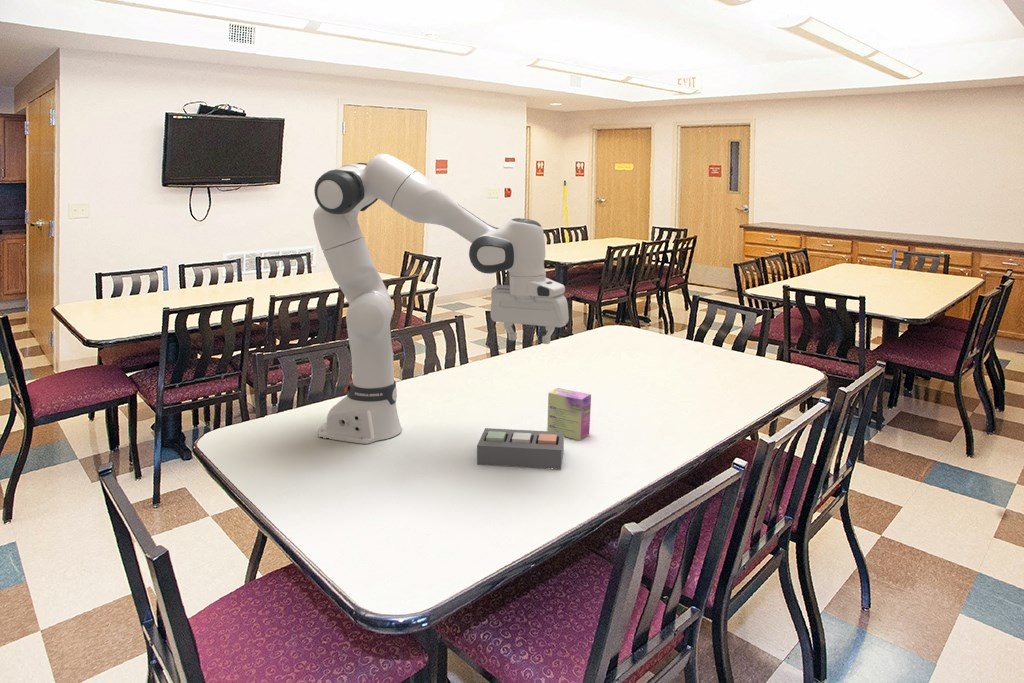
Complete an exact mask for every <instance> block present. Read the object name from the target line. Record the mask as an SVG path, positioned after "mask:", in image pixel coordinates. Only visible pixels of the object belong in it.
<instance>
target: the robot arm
mask: <svg viewBox="0 0 1024 683" xmlns="http://www.w3.org/2000/svg"><path fill="white" fill-rule="evenodd" d="M314 198H315V200H316V202H317V204H318V207H317V208H316V209H315V210H314V212H313V215H312V216H313V217H312V218H313V224H314V229H315V232H316V235H317V239H318V242H319V246H320V248H321V251H322V253H323V255H324V258H325V261H326V262H327V266H328V268H329V270H330V272H331V275H332V278H333V279H334V281H335V283H336V284H337V285H338V286H339V288H340V290H341V292H342V293H343V295H344V297H345V299H346V300H347V303H348V307H347V310H346V314H345V322H346V330H347V337H348V343H349V350H350V356H351V369H352V379H351V380H349V383H348V384H347V385H346V387H344V394H345V393H346V394H347V395H346V396H344V397H343V398H342V399H341V400H339V401H338V402H337V403H336V404H335V405H333V406H332V407H331V408H330V410H329V411H328V413H327V417H326V422H324V424H322V425H321V426H320V428H319V429H318V435H319V436H318V438H320V437H323V438H322V439H326V438H329V439H328V440H336V441H341V442H348V443H356V444H361V445H362V444H363V445H367V444H371V443H374V442H377V441H383V440H388V439H391V438H394V437H396V436H398V435H399V434H400V433H402V431H403V427H402V426H401V422H400V419H399V415H398V414H399V413H398V410H397V409H398V408H397V397H398V395H397V394H398V393H397V391H398V388H397V383H396V380H395V371H394V370H395V369H394V367H395V366H394V351H393V344H392V335H391V320H392V317H393V315H394V303H393V300H392V299H391V296H390V294H389V291H388V289H387V286H386V284H385V283H384V281H383V278H382V277H381V275H380V273H379V271H378V269H377V267H376V266H375V265H376V264H375V263H374V260H373V258H372V255H371V253H370V250H369V248H368V245H367V243H366V240H365V238H364V234H363V232H362V230H361V228H360V225H359V220H358V215H359V214H360V212H364V211H366V210H367V209H369V207H371V206H372V205H373V204H375V203H376V202H377V201H378V200H380V201H382V202H383V203H385V204H386V205H387V206H389V207H390V208H391V209H393V210H394V211H395V212H397V213H398V214H399V215H400V216H403V217H404V218H407V219H408V220H411V221H413V222H415V223H420V224H430V225H437V226H441V227H445V228H447V229H449V230H451V231H452V232H455V233H456V234H457V235H459V236H460V237H462V238H464V239H465V240H466V241H468V242H469V243H471V244H470V247H469V250H468V256H469V260H470V263H471V265H472V266H473V268H474V269H476V270H477V271H478V272H480V273H483V274H487V275H488V274H489V275H490V274H491V275H492V274H496V273H499V272H503V271H508V273H509V274H508V275H509V278H508V279H509V284H496V285H495V286H492V289H491V291H490V292H491V293H490V294H491V302H490V303H491V304H490V318H491V320H492V322H496V323H503V327H504V329H505V331H506V332H507V335H508V341H516V340H518V339H517V338H518V333H517V332H515V331H514V329H513V327H512V326H513V325H514V324H517V325H518V324H519V325H529V326H539V327H540V326H541V327H545V331H546V334H545V335H543V336H541V340H542V341H541V342H542V344H544V345H549V344H551V342H552V341H551V340H552V339H551V336H552V334H553V333H554V331H555V328H562V327H565V326H566V325H567V324H568V322H569V319H570V316H569V305H568V301H567V300H568V299H567V298H566V296H565V295H563V294H564V293H565V291H566V286H565V285H564V284H562V283H560V282H557V281H555V280H552V279H551V278H548V277H547V272H546V268H545V259H546V240H545V233H544V229H543V226H542V225H541V224H540V223H539V222H538V221H536V220H534V219H529V218H520V217H517V218H516V217H515V218H512V219H511V220H509V221H508V222H507V223H506V224H504V225H502V226H501V227H496V226H494V225H491V224H489V223H487V222H485V221H484V220H482V219H481V218H480V217H478V216H476V215H475V214H474V213H472V212H471V211H469V210H467V209H466V208H465V207H463V206H462V205H460V204H459V203H458V202H456V201H455V200H454V199H452V198H451V197H450V196H449V195H447V194H446V193H445V192H444V191H443V190H442V189H440V188H439V187H438V186H437V185H436V183H434V182H433V181H432V180H431V179H429V178H428V177H426V175H424V174H423V173H421V172H420V171H419V170H417V169H416V168H414V167H413V166H412V165H410V164H408V163H406V162H405V161H403V160H401V159H400V158H397V157H396V156H393V155H391V154H389V153H378V154H376V155H374V156H372V157H371V159H370V160H369V161H368V162H367V163H366V162H357V163H351V164H345V165H342V166H340V167H338V168H335V169H331V170H328V171H326V172H324V173H323V174H322V175H321V176H319V177H318V179H317V180H316V182H315V186H314Z"/></svg>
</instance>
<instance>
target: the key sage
mask: <svg viewBox="0 0 1024 683" xmlns="http://www.w3.org/2000/svg"><path fill="white" fill-rule="evenodd" d="M505 440H506V432H496V431H489V432H488V434H487V436H486V441H495V442H505Z"/></svg>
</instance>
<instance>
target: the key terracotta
mask: <svg viewBox="0 0 1024 683" xmlns="http://www.w3.org/2000/svg"><path fill="white" fill-rule="evenodd" d="M556 443H557V435H554V434H539V438H538V444H551V445H556Z"/></svg>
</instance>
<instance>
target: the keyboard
mask: <svg viewBox="0 0 1024 683" xmlns="http://www.w3.org/2000/svg"><path fill="white" fill-rule="evenodd" d="M489 431H496V432H506V440H505V442H495V441H486V436H487V434H488V432H489ZM514 432H515V433H531V443H514V442H512V437H513V434H514ZM539 434H554V435H557V443H556V445H551V444H538V438H539ZM564 444H565V437H564V432H551V431H547V430H545V431H544V430H531V429H530V430H525V429H524V430H523V429H509V428H490V427H489V428H488V427H487V428H484V430H483V432H482V434H481V436H480V439H479V440H478V443H477V444H476V460H477V461H476V462H477V463H476V464H477V465H479V466H496V467H497V466H498V467H510V468H511V467H514V468H515V467H516V468H530V469H533V468H534V469H546V468H550V469H549V470H561V469H562V466H563V465H562V464H563V458H564V457H563V456H564V450H565V449H564V448H565V447H564V446H565V445H564ZM551 468H553V469H551Z"/></svg>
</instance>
